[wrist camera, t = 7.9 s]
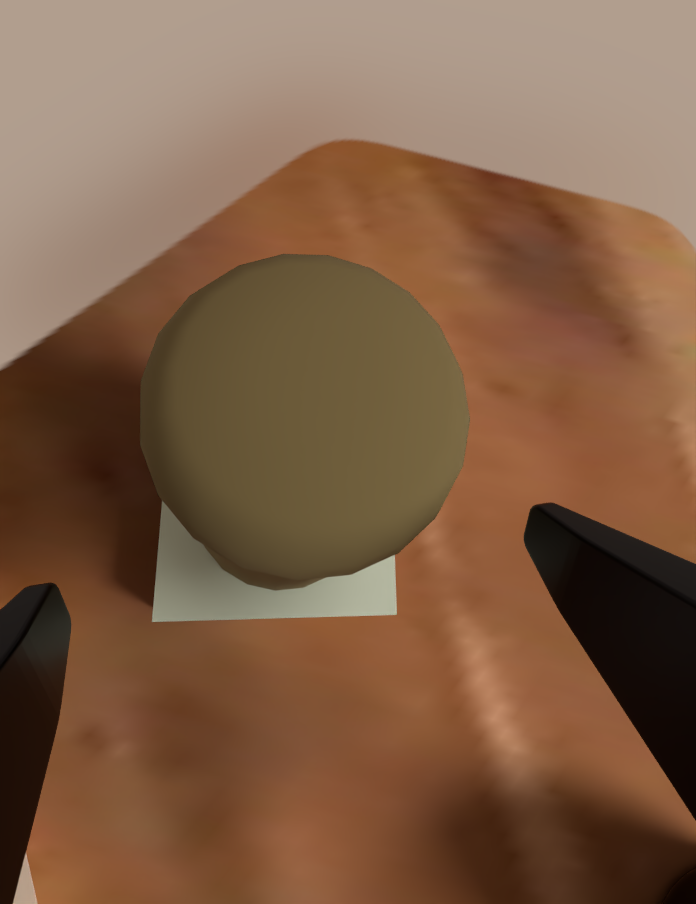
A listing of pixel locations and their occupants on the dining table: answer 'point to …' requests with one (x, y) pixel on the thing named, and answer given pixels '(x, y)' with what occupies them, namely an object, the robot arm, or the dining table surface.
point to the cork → (302, 419)
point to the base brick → (255, 587)
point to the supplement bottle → (683, 890)
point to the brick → (25, 886)
